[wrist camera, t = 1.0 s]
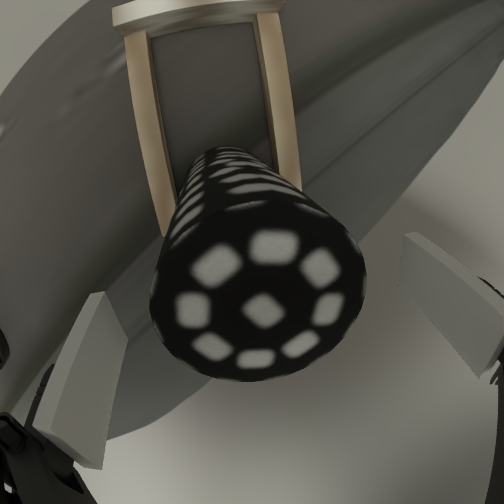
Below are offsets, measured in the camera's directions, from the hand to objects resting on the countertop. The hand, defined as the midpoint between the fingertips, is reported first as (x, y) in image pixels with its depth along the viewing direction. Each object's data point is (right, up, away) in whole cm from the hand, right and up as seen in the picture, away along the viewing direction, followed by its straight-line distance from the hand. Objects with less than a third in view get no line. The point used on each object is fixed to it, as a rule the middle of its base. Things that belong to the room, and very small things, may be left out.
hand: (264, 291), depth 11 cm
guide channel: (-4, +14, +13) cm, 20 cm away
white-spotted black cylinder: (-3, +8, +17) cm, 19 cm away
